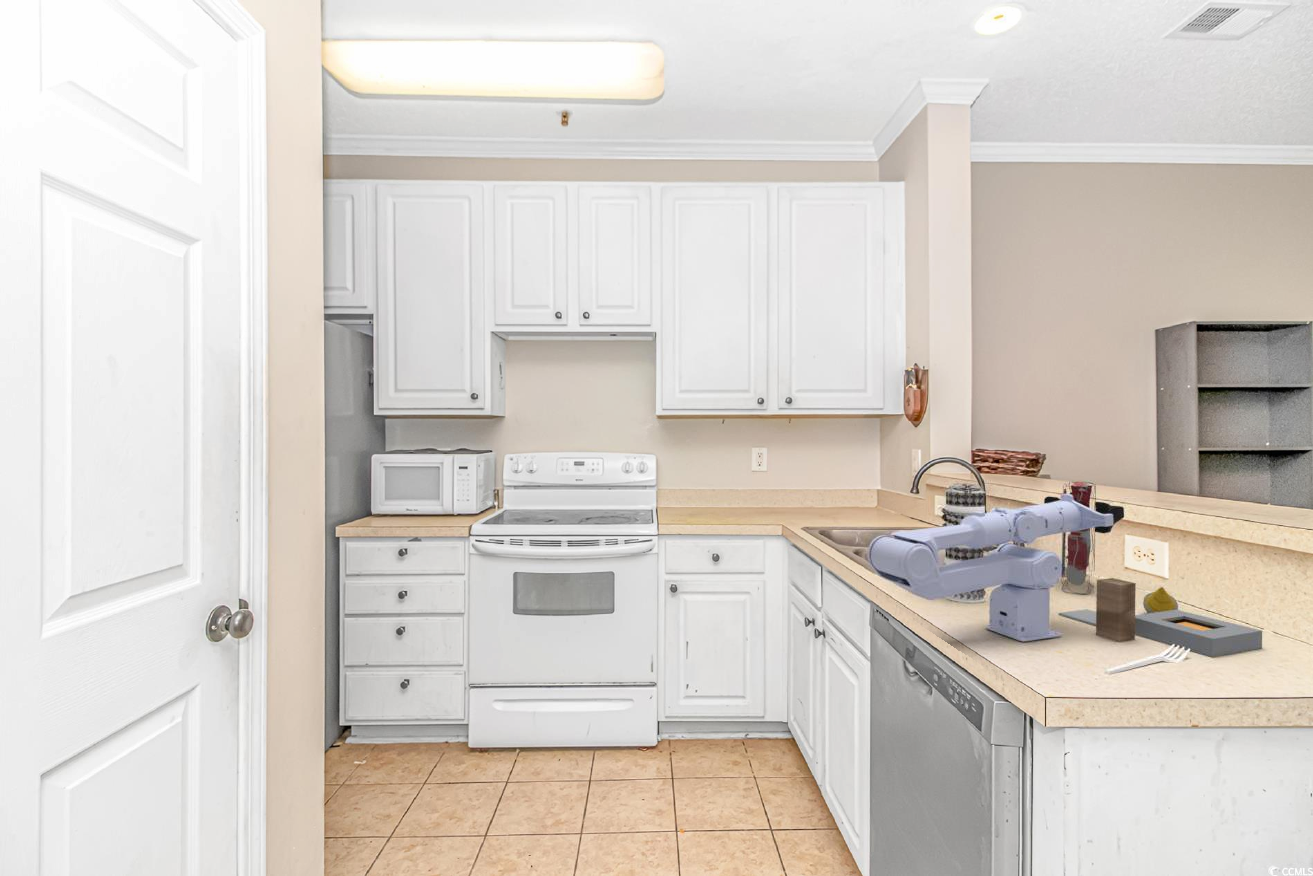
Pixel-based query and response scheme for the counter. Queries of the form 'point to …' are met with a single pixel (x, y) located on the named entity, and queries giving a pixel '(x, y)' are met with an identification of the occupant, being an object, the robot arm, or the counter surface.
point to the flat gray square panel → (1081, 616)
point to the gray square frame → (1198, 633)
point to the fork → (1151, 660)
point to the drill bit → (1159, 601)
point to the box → (1078, 540)
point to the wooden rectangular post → (1115, 609)
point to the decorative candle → (957, 507)
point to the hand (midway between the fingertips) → (1101, 509)
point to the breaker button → (1193, 626)
